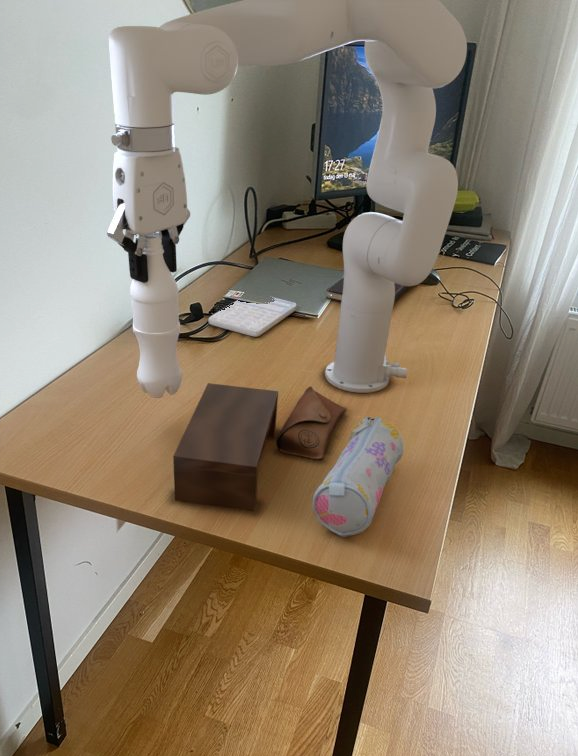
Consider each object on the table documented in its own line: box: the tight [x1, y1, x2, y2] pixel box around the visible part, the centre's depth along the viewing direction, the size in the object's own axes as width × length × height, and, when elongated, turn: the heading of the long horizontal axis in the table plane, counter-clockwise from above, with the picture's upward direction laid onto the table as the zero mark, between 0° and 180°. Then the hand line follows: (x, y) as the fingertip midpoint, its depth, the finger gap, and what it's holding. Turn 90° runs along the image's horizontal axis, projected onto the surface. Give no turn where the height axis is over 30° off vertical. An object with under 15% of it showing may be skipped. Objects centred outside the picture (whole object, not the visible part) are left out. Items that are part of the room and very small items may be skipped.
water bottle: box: [129, 232, 183, 399], centre depth 100 cm, size 7×7×25 cm
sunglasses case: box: [275, 386, 347, 460], centre depth 115 cm, size 18×7×7 cm
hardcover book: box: [325, 276, 412, 304], centre depth 170 cm, size 16×23×2 cm
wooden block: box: [172, 382, 279, 512], centre depth 104 cm, size 12×22×8 cm, turn 170°
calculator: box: [207, 296, 297, 338], centre depth 155 cm, size 13×20×2 cm, turn 149°
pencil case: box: [312, 416, 404, 537], centre depth 97 cm, size 21×9×10 cm, turn 156°
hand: (153, 273), depth 96 cm, fingers closed on water bottle, 4 cm apart
